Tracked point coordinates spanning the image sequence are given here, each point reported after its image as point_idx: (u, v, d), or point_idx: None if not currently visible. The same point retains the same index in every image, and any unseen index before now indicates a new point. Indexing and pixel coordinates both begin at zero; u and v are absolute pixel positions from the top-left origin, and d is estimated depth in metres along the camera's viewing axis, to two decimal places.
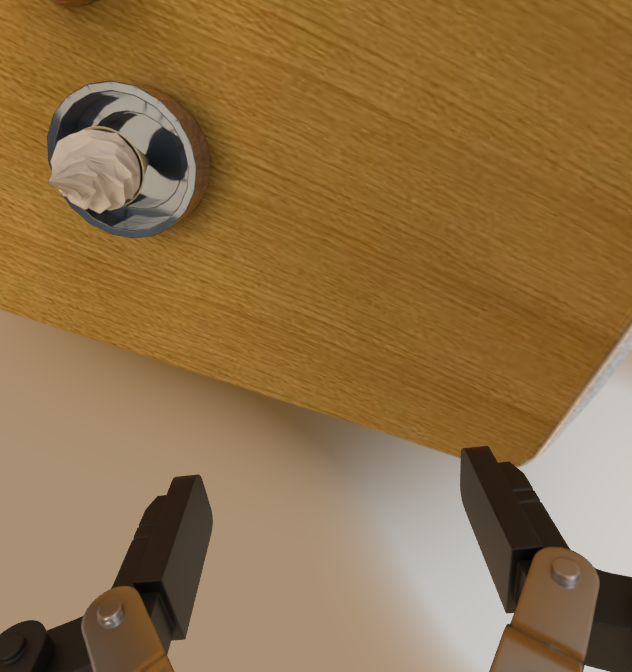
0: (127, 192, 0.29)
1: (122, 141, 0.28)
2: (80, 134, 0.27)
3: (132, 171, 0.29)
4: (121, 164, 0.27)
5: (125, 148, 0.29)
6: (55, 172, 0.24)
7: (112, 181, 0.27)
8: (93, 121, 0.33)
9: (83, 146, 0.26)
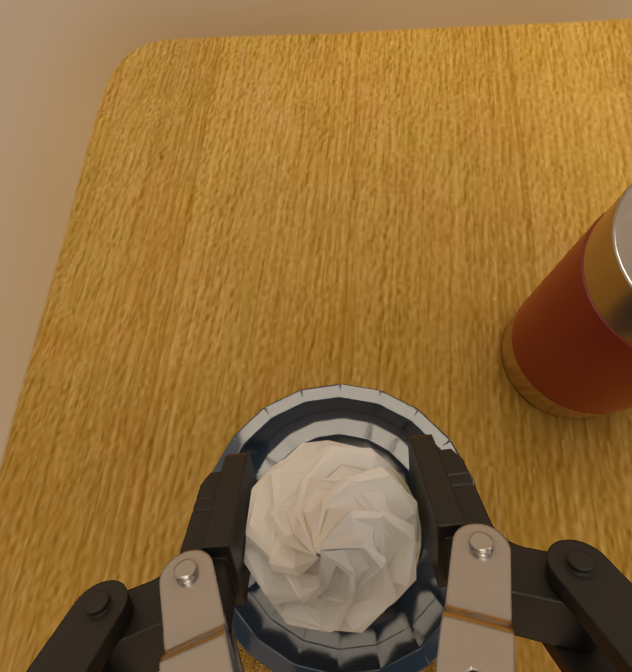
0: None
1: None
2: (406, 499, 0.12)
3: None
4: (378, 613, 0.11)
5: None
6: (339, 531, 0.08)
7: (335, 611, 0.11)
8: (381, 438, 0.20)
9: (393, 525, 0.11)
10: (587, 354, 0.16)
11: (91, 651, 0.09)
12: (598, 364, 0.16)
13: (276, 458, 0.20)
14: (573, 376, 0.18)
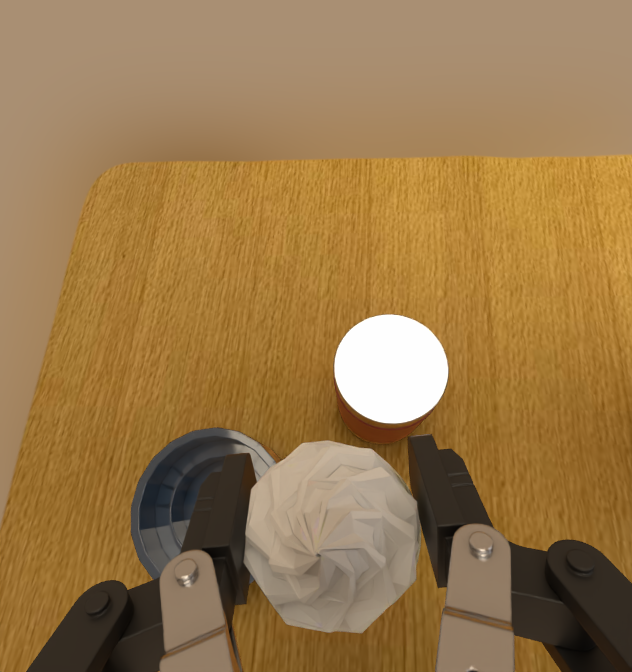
0: None
1: None
2: (406, 499, 0.12)
3: None
4: (378, 613, 0.11)
5: None
6: (339, 531, 0.08)
7: (335, 611, 0.11)
8: None
9: (393, 525, 0.11)
10: (345, 413, 0.29)
11: (91, 651, 0.09)
12: (352, 419, 0.29)
13: (183, 470, 0.33)
14: (350, 423, 0.31)
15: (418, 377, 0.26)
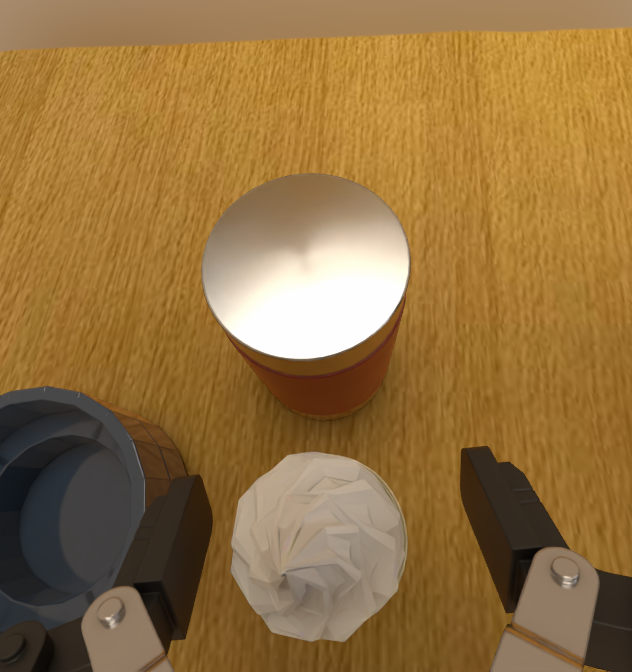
0: None
1: None
2: (388, 510, 0.12)
3: None
4: (359, 623, 0.11)
5: None
6: (310, 548, 0.09)
7: (316, 622, 0.11)
8: (107, 438, 0.21)
9: (373, 538, 0.11)
10: None
11: None
12: None
13: (8, 457, 0.21)
14: (261, 379, 0.19)
15: (354, 276, 0.14)
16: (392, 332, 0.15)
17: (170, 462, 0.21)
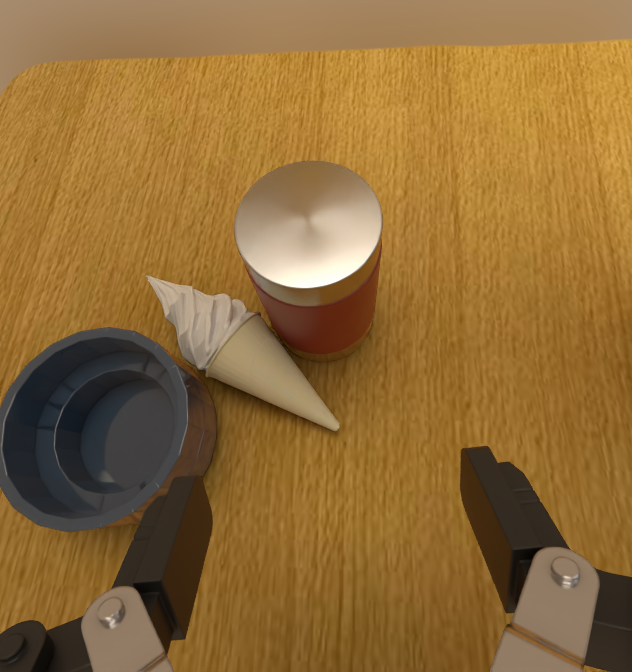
0: None
1: (229, 326, 0.25)
2: (225, 296, 0.27)
3: None
4: (190, 324, 0.25)
5: (225, 332, 0.25)
6: (165, 282, 0.28)
7: (179, 328, 0.26)
8: (152, 371, 0.27)
9: (206, 297, 0.27)
10: (262, 300, 0.23)
11: None
12: (270, 308, 0.23)
13: (74, 386, 0.27)
14: (274, 320, 0.25)
15: (342, 232, 0.19)
16: (371, 275, 0.21)
17: (201, 390, 0.27)
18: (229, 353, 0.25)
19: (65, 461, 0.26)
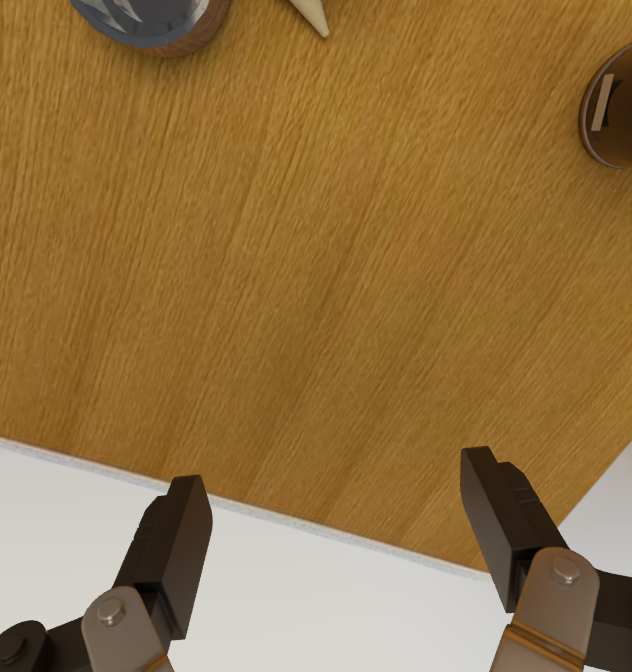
0: None
1: None
2: None
3: None
4: None
5: None
6: None
7: None
8: None
9: None
10: None
11: None
12: None
13: None
14: None
15: None
16: None
17: None
18: None
19: None
